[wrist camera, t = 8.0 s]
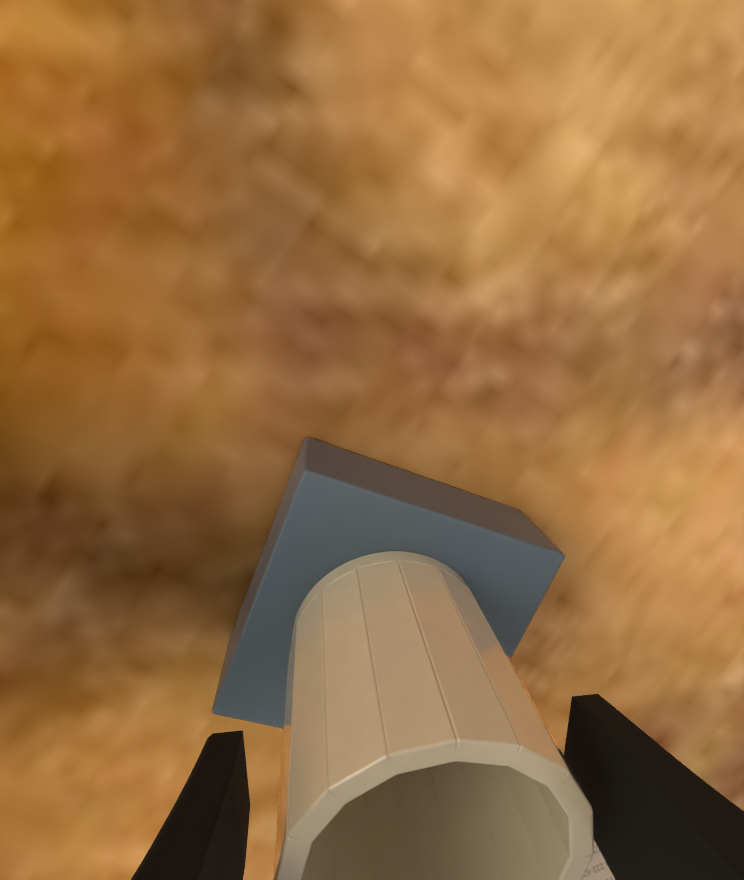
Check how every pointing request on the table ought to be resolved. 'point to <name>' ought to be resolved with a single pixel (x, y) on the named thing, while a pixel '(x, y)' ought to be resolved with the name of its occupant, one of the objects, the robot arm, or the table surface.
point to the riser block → (365, 532)
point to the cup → (417, 740)
